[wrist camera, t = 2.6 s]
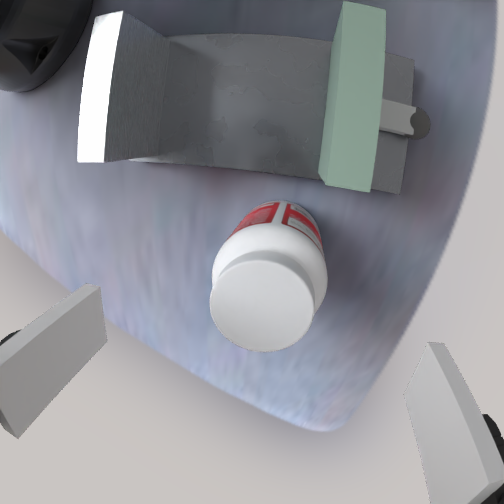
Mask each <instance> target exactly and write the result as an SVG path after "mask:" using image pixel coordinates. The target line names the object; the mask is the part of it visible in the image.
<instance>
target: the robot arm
mask: <svg viewBox="0 0 504 504" xmlns="http://www.w3.org/2000/svg"><path fill="white" fill-rule="evenodd" d="M91 6H92V0H0V90H4V91H13V92H25V91H29V90H32V89H34V88H36V87H38V86H39V85H41V84H42V83H44V82H45V81H46V80H47V79H49V78H50V77H51V76H52V75H53V74H54V73H55V72H56V71H57V70H58V69H59V67H60V66H61V65H62V64H63V62H64V61H65V60H66V58H67V57H68V56H69V54H70V53H71V51H72V50H73V48H74V46H75V45H76V43H77V41H78V39H79V38H80V36H81V34H82V32H83V29H84V27H85V25H86V22H87V20H88V17H89V14H90V10H91ZM106 342H107V335H106V329H105V322H104V314H103V306H102V298H101V289H100V287H99V286H95V285H91V284H88V283H86V284H84V285H83V286H81V287H80V288H79V289H77V290H76V291H74V292H73V293H71V294H70V295H69V296H67V297H66V298H64V299H63V300H61V301H60V302H59V303H57V304H56V305H54V306H53V307H52V308H50V309H49V310H48V311H46V312H45V313H44V314H42V315H41V316H39V317H38V318H37V319H35V320H34V321H32V322H31V323H30V324H28V325H27V326H26V327H24V328H23V329H21V330H18V331H16V332H13V333H11V334H9V335H8V336H6V337H5V338H4V339H3V340H1V342H0V423H1V425H2V426H3V428H4V429H5V430H6V431H8V432H9V433H10V434H12V435H13V436H15V437H16V438H17V439H18V438H19V437H20V436H21V435H22V434H23V433H24V432H25V430H26V429H27V428H28V427H29V426H30V425H31V424H32V422H33V421H34V420H35V419H36V418H37V417H38V416H39V415H40V413H41V412H42V411H43V410H44V409H45V408H46V407H47V405H48V404H49V403H50V402H51V401H52V400H53V399H54V398H55V397H56V396H57V395H58V393H59V392H60V391H61V390H62V389H63V388H64V387H65V386H66V385H67V384H68V382H70V380H71V379H72V378H73V377H74V376H75V375H76V374H77V373H78V372H79V371H80V370H81V369H82V368H83V366H84V365H85V364H86V363H87V362H88V361H89V360H90V359H91V358H92V357H93V356H94V355H95V354H96V353H97V352H98V350H100V349H101V348H102V346H103V345H104V344H105V343H106ZM404 398H405V401H406V405H407V408H408V411H409V415H410V418H411V422H412V426H413V430H414V433H415V437H416V441H417V445H418V449H419V453H420V457H421V461H422V466H423V470H424V475H425V479H426V484H427V489H428V494H429V499H430V504H504V439H503V437H501V433H500V431H499V429H498V427H497V425H496V423H495V422H494V421H493V420H492V419H491V418H490V417H489V416H488V414H481V411H480V409H479V407H478V405H477V404H476V401H475V399H474V398H473V396H472V393H471V392H470V390H469V388H468V386H467V384H466V382H465V380H464V378H463V377H462V375H461V373H460V371H459V369H458V367H457V365H456V364H455V362H454V360H453V358H452V357H451V355H450V353H449V351H448V350H447V348H446V346H445V344H444V343H433V342H428V343H427V345H426V348H425V350H424V352H423V355H422V357H421V359H420V362H419V364H418V366H417V368H416V370H415V372H414V374H413V376H412V379H411V381H410V383H409V385H408V387H407V389H406V391H405V393H404Z"/></svg>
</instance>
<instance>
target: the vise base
mask: <svg viewBox="0 0 504 504" xmlns="http://www.w3.org/2000/svg"><path fill="white" fill-rule="evenodd" d="M332 43H333V42H331V41H325V40H318V39H310V38H301V37H292V36H280V35H265V34H236V33H219V34H190V35H176V36H162V35H161V34H159V33H158V32H156V31H155V30H153V29H152V28H150V27H149V26H147V25H146V24H144V23H142V22H141V21H139V20H138V19H136V18H135V17H133V16H131V15H130V14H128V13H126V12H125V11H119V12H114V13H110V14H106V15H102V16H98V17H95V21H94V26H93V30H92V35H91V40H90V45H89V51H88V56H87V62H86V69H85V76H84V83H83V91H82V99H81V109H80V121H79V135H78V157H77V162H101V163H104V162H111V161H119V160H126V159H129V161H139V162H158V163H174V164H188V165H200V166H212V167H222V168H232V169H242V170H250V171H259V172H267V173H275V174H283V175H290V176H297V177H304V178H311V179H317V180H322V178H321V177H320V175H319V173H318V168H319V161H320V153H321V145H322V137H323V128H324V119H325V110H326V101H327V91H328V81H329V70H330V58H331V46H332ZM413 79H414V60H412V59H408V58H405V57H401V56H398V55H394V54H390V53H386V52H385V63H384V79H383V93H382V99H386V100H390V101H394V102H398V103H402V104H406V105H409V106H412V95H413ZM407 145H408V137H406V136H404V135H400V134H396V133H392V132H387V131H383V130H379V133H378V141H377V149H376V156H375V163H374V170H373V177H372V183H371V189H374V190H380V191H385V192H390V193H394V194H399V195H400V191H401V186H402V180H403V173H404V167H405V160H406V153H407Z"/></svg>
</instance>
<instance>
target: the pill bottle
mask: <svg viewBox="0 0 504 504" xmlns="http://www.w3.org/2000/svg"><path fill="white" fill-rule="evenodd" d="M327 281H328V278H327V268H326V262H325V257H324V252H323V247H322V241H321V236H320V232H319V229H318V226H317V224H316V222H315V220H314V219H313V217H312V216H311V215H310V214H309V213H308V212H307V211H306V210H305V209H303V208H302V207H300V206H299V205H297V204H294V203H292V202H288V201H281V200H276V201H269V202H265V203H263V204H260V205H258V206H257V207H255V208H254V209H252V210H251V211H250V212H249V213H248V214H247V215H246V216H245V217H244V219H243V220H242V221H241V222H240V224H239V225H238V226H237V228H236V229H235V230H234V231H233V233H232V234H231V235H230V236H229V238H228V239H227V240H226V241H225V243H224V244H223V246H222V247H221V249H220V250H219V252H218V254H217V256H216V258H215V261H214V265H213V270H212V284H213V288H212V291H211V295H210V311H211V316H212V318H213V321H214V323H215V325H216V327H217V328H218V329H219V331H220V332H221V333H222V334H223V335H224V336H225V337H226V338H227V339H228V340H229V341H231V342H232V343H234V344H236V345H237V346H239V347H242V348H245V349H247V350H251V351H257V352H273V351H278V350H282V349H285V348H287V347H289V346H291V345H293V344H295V343H296V342H297V341H299V340H300V339H301V338H302V337H303V336H304V335H305V334H306V332H307V331H308V329H309V328H310V326H311V323H312V321H313V317H314V314H315V313H316V312H317V310H318V309H319V307H320V306H321V304H322V302H323V300H324V297H325V294H326V290H327Z"/></svg>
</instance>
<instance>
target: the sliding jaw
mask: <svg viewBox="0 0 504 504" xmlns="http://www.w3.org/2000/svg"><path fill="white" fill-rule="evenodd" d="M385 39H386V10H385V9H381V8H377V7H373V6H368V5H363V4H358V3H353V2H348V1H343V5H342V8H341V12H340V16H339V20H338V24H337V28H336V31H335V35H334V39H333V43H332V46H331V58H330V70H329V81H328V91H327V101H326V110H325V119H324V128H323V137H322V145H321V153H320V161H319V168H318V173H319V175H320V177H321V178H322V180H323V181H324V183H325V185H328V186H334V187H340V188H346V189H351V190H357V191H362V192H368V193H370V189H371V183H372V177H373V170H374V163H375V156H376V149H377V141H378V133H379V130H383V131H387V132H392V133H396V134H400V135H404V136H406V137H408V138H410V139H414V140H418V139H422V138H424V137H425V136H426V135H427V134H428V133H429V130H430V119H429V117H428V115H427V114H426V112H425V111H423V110H422V109H420V108H418V107H413V106H409V105H406V104H402V103H398V102H394V101H390V100H386V99H382V93H383V79H384V63H385Z"/></svg>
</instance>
